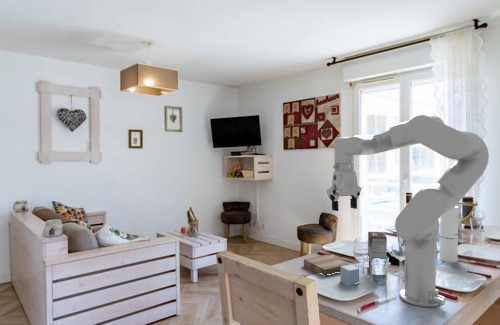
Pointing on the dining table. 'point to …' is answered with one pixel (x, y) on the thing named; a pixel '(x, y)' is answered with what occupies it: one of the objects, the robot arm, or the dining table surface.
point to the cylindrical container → (449, 236)
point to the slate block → (349, 274)
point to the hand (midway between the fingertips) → (344, 209)
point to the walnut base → (324, 264)
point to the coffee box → (376, 247)
